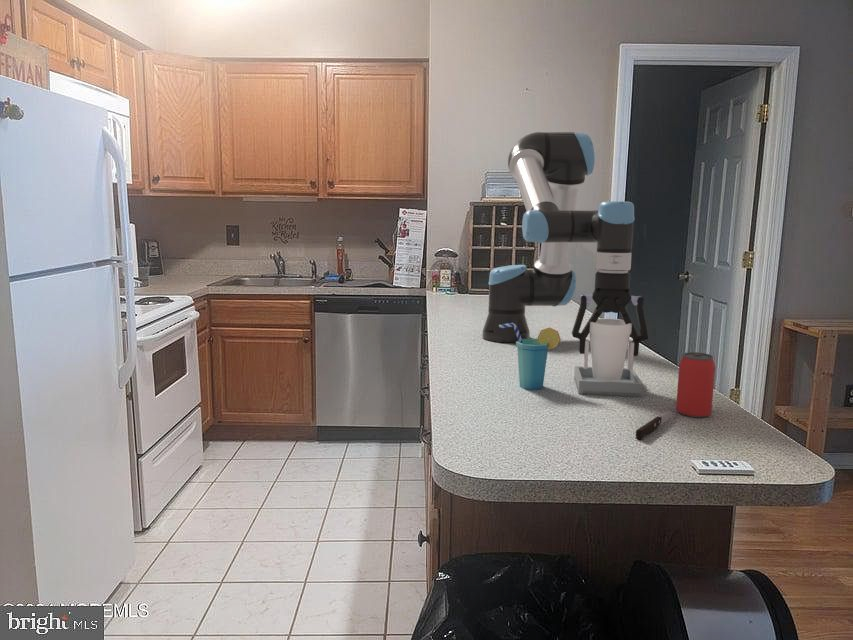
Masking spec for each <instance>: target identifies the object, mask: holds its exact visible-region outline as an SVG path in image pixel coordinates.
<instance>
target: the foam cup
mask: <svg viewBox="0 0 853 640" xmlns="http://www.w3.org/2000/svg"><path fill="white" fill-rule="evenodd" d="M632 324H633V322H632V323H628V324H625V322H624V320H623V319H621V318H620V319H619V318H605V317H603V318H600V317H599V318H598V320H597V321H596V323H594V322H590V333H589V334H588V335H589V345H590V346H589V347H590V356H591V357H590V359H591V367H592V371H593V377H594V378H596V379H600V380H606V381H616V380H620V379H621V376H622V372H623V368H624V367H625V361H626V357H627V354H628V352H627V351H628V348H629V340H630V338H631V337H630V336H631V335H630V334H631V330H632Z"/></svg>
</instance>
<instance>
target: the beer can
mask: <svg viewBox="0 0 853 640" xmlns="http://www.w3.org/2000/svg"><path fill="white" fill-rule="evenodd" d="M678 365H679V366H678V378H677V391H676V404H675V405H676V406H675V410H676V411H677V412H678V413H679V414H680V415H682V416H685V417H690V418H708V417H709V416H710V415H711V414H712V412H713V410H712V408H713V398H714V387H715V376H716V364H715V361H714V356H713V354H708V353H704V352H696V351H695V352H694V351H692V352H690V351H689V352H688V351H687V352H684V353H682V358H681V360H680V362H679V364H678Z"/></svg>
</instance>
